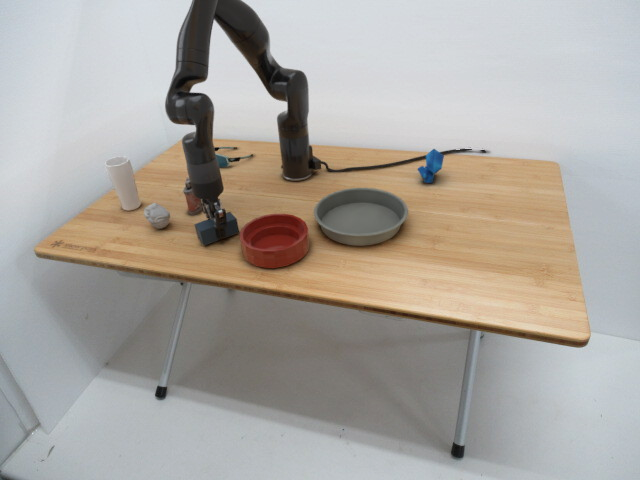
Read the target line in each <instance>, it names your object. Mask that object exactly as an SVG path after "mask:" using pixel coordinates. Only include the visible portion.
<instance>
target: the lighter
mask: <svg viewBox="0 0 640 480" xmlns="http://www.w3.org/2000/svg"><path fill="white" fill-rule="evenodd" d="M184 185H185V186H184V188H183V190H182V192H183V194H184V197H185V201H186V204H187V209H188V215H191V216H195V215H198V214H199V213H200V212H201V211H203V210H202V206H201V203H200V200H199V198H196V197H195V196H194V195H193V191H192V187H191V183H190V179H189V176H187V177H186V178H185V181H184Z"/></svg>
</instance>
